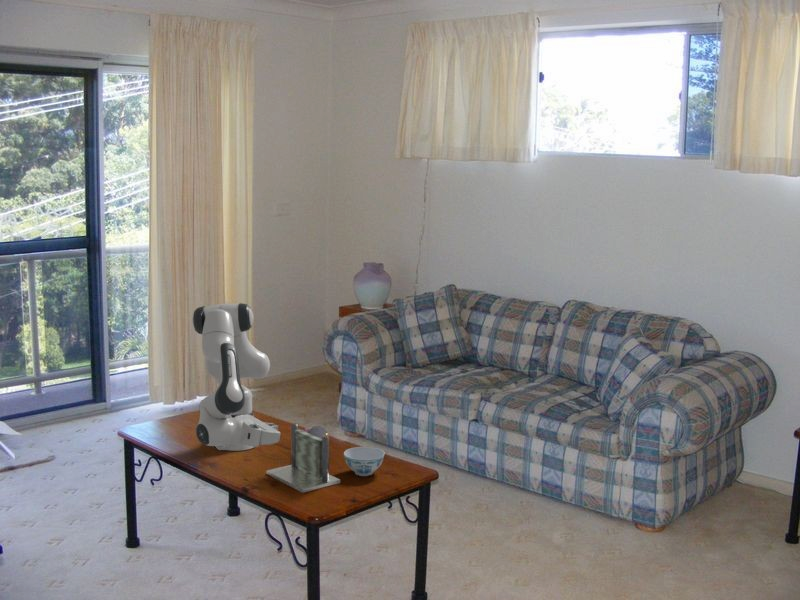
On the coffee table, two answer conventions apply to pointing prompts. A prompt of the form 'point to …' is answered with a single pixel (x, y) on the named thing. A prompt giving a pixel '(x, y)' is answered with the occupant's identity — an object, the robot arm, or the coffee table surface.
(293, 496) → the coffee table surface
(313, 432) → the bluetooth speaker
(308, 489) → the gate frame
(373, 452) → the chinaware
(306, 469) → the gate
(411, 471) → the coffee table surface
